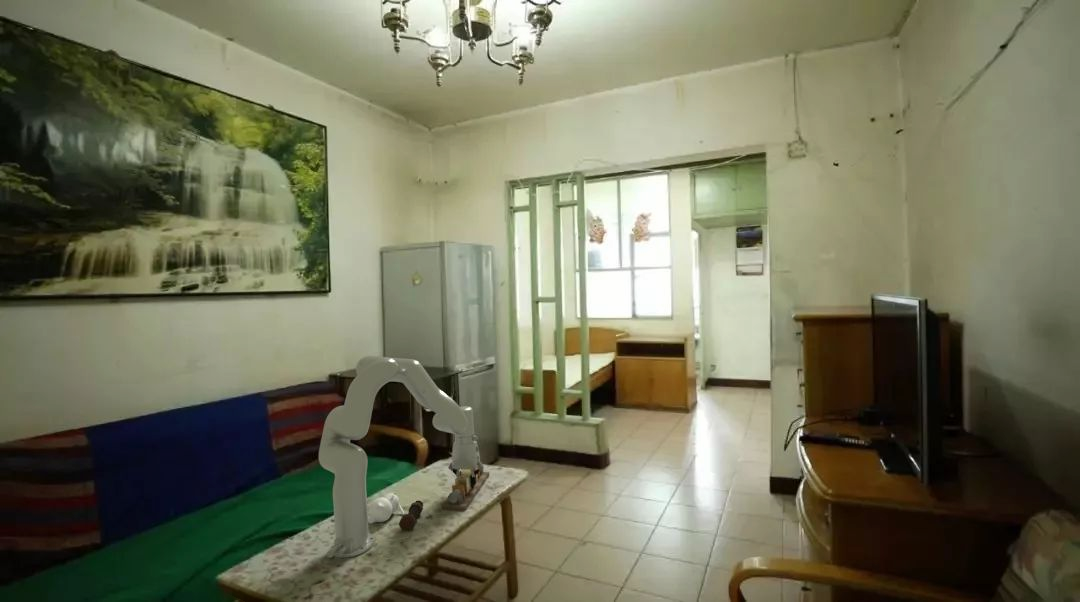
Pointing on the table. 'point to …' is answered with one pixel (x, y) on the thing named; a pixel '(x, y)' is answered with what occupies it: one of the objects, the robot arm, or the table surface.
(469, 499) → the shaft base
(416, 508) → the bolt
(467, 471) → the tan rectangular block
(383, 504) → the cat figurine
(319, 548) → the table surface
